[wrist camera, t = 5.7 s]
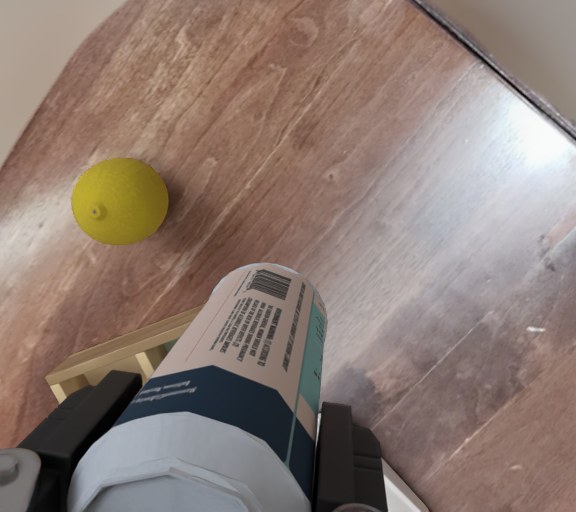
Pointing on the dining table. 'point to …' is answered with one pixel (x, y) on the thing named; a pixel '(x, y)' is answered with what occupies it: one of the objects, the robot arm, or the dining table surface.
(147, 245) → the dining table surface
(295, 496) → the beer can
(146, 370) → the wooden divided tray
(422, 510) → the long cone
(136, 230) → the lemon
